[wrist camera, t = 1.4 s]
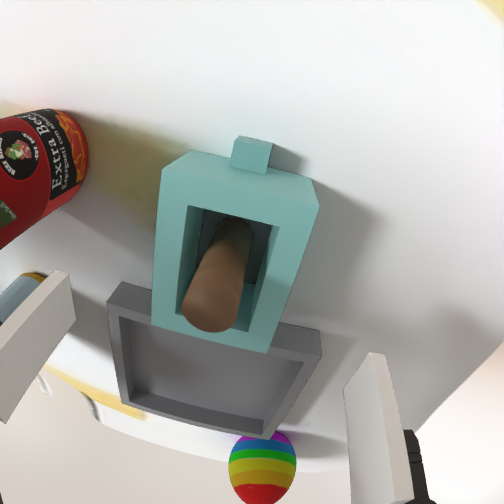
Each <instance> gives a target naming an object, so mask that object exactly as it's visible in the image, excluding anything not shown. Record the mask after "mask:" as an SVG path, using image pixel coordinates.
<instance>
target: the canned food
mask: <svg viewBox="0 0 504 504" xmlns="http://www.w3.org/2000/svg"><path fill="white" fill-rule="evenodd" d="M87 167H88V148H87V143H86V139H85V136H84V134H83V132H82V130H81V128H80V126H79V125H78V124H77V122H76V121H75V120H74V119H73V118H72V117H71V116H69V115H68V114H66V113H64V112H61V111H58V110H53V109H41V110H36V111H31V112H27V113H22V114H18V115H14V116H10V117H6V118H2V119H0V250H1V249H2V248H3V247H5V246H6V245H7V244H8V243H10V242H11V241H12V240H14V239H15V238H16V237H18V236H19V235H20V234H22V233H23V232H24V231H26V230H27V229H28V228H30V227H31V226H32V225H34V224H35V223H37V222H38V221H39V220H41V219H42V218H44V217H45V216H47V215H48V214H49V213H51V212H52V211H54V210H55V209H57V208H58V207H60V206H61V205H63V204H64V203H66V202H67V201H69V200H70V199H71V198H72V197H73V196H74V195H75V193H76V192H77V191H78V189H79V188H80V186H81V184H82V183H83V181H84V178H85V175H86V172H87Z"/></svg>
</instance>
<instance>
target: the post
mask: <svg viewBox="0 0 504 504" xmlns="http://www.w3.org/2000/svg"><path fill="white" fill-rule="evenodd" d="M252 239H253V232H252V229H251V227H250V226H249V224H248V223H247V222H245V221H244V220H242V219H239V218H234V217H232V218H227V219H224V220H223V221H221V222H220V223H219V225H218V226H217V228H216V230H215V232H214V235H213V237H212V239H211V241H210V243H209V245H208V247H207V250H206V252H205V254H204V256H203V258H202V260H201V263H200V265H199V267H198V269H197V271H196V273H195V276H194V278H193V280H192V282H191V285H190V287H189V289H188V291H187V293H186V296H185V298H184V300H183V303H182V312H183V314H184V317H185V318H186V320H187V321H188V322H189V323H190V324H191V325H193V326H194V327H195V328H197V329H199V330H202V331H205V332H210V333H218V332H223V331H226V330H228V329H229V328H231V327H232V326H233V324H234V323H235V321H236V317H237V313H238V308H239V303H240V298H241V293H242V288H243V283H244V278H245V273H246V269H247V264H248V259H249V254H250V249H251V244H252Z"/></svg>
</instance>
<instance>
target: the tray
mask: <svg viewBox="0 0 504 504" xmlns="http://www.w3.org/2000/svg"><path fill="white" fill-rule="evenodd" d="M106 303H107V313H108V322H109V330H110V338H111V345H112V352H113V359H114V365H115V371H116V376H117V382H118V387H119V392H120V397H121V402H122V403H123V404H126V405H128V406H131V407H134V408H137V409H140V410H143V411H146V412H149V413H153V414H156V415H159V416H162V417H166V418H169V419H173V420H176V421H180V422H184V423H187V424H191V425H195V426H199V427H203V428H208V429H212V430H217V431H221V432H226V433H231V434H236V435H242V436H247V437H253V438H259V439H266V440H269V439H270V438H271V436H272V435H273V434H274V432H275V431H276V429H277V428H278V426H279V425H280V423H281V422H282V420H283V419H284V417H285V416H286V414H287V413H288V411H289V409H290V408H291V406H292V405H293V403H294V402H295V400H296V398H297V397H298V395H299V394H300V392H301V390H302V389H303V387H304V385H305V384H306V382H307V381H308V379H309V377H310V375H311V374H312V372H313V370H314V369H315V367H316V365H317V364H318V362H319V360H320V358H321V357H322V353H321V343H320V333H319V331H318V330H313V329H308V328H303V327H298V326H293V325H289V324H284V323H278V325H277V328H276V330H275V333H274V335H273V338H272V341H271V343H270V346H269V348H268V351H267V353H261V352H256V351H252V350H247V349H243V348H238V347H234V346H230V345H225V344H221V343H217V342H213V341H209V340H205V339H201V338H197V337H194V336H190V335H186V334H182V333H179V332H175V331H172V330H168V329H165V328H161V327H158V326H154V325H151V310H152V291H151V290H148V289H144V288H141V287H138V286H134V285H131V284H127V283H124V282H121V283H120V284H119V286H118V287H117V288H116V290H115V291H114V292H113V294H112V295H111V297H110V298H109V299H108V301H107V302H106Z"/></svg>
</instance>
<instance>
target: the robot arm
mask: <svg viewBox="0 0 504 504" xmlns="http://www.w3.org/2000/svg"><path fill="white" fill-rule="evenodd" d="M75 321H76V314H75V309H74V304H73V298H72V292H71V285H70V278H69V274H68V273H65V272H63V271H60V270H57V269H56V270H55V271H53V272H52V273H51V274H50V275H49V276H48V277H47V278H46V279H45V280H44V281H43V282H42V283H41V284H40V285H39V286H38V287H37V288H36V289H35V290H34V291H33V292H32V293H31V294H30V295H29V296H28V297H27V298H26V299H25V300H24V301H23V302H22V304H21V305H20V306H19V307H18V308H17V309H16V310H15V311H14V312H13V313H12V314H11V315H10V316H9V318H8V319H7V320H6V321H5V322H4V323H3V322H1V321H0V421H2V422H3V423H5V424H6V423H7V421H8V419H9V418H10V416H11V414H12V413H13V411H14V410H15V408H16V406H17V405H18V403H19V401H20V400H21V398H22V397H23V395H24V394H25V392H26V390H27V389H28V387H29V386H30V384H31V383H32V381H33V380H34V378H35V377H36V375H37V374H38V372H39V371H40V370H41V368H42V367H43V365H44V364H45V362H46V361H47V359H48V358H49V357H50V355H51V354H52V352H53V351H54V350H55V348H56V347H57V345H58V344H59V343H60V341H61V340H62V339H63V337H64V336H65V334H66V333H67V332H68V330H69V329H70V328H71V326H72V325H73V324H74V323H75ZM343 395H344V404H345V414H346V425H347V437H348V450H349V465H350V482H351V483H350V484H351V504H436V503H435V502H434V501H432V500H430V498H429V496H428V491H427V485H426V478H425V473H424V467H423V463H422V457H421V454H420V447H419V442H418V439H417V437H416V436H415V434H414V432H413V431H412V430H403V428H402V423H401V418H400V414H399V409H398V405H397V400H396V396H395V392H394V388H393V384H392V380H391V376H390V372H389V368H388V364H387V361H386V357H385V354H381V353H374V352H369V353H368V355H367V356H366V358H365V359H364V361H363V362H362V364H361V365H360V367H359V368H358V370H357V371H356V372H355V374H354V375H353V377H352V378H351V379H350V381H349V382H348V384H347V385H346V386H345V388H344V389H343ZM0 504H3V501H2V497H1V494H0Z"/></svg>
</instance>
